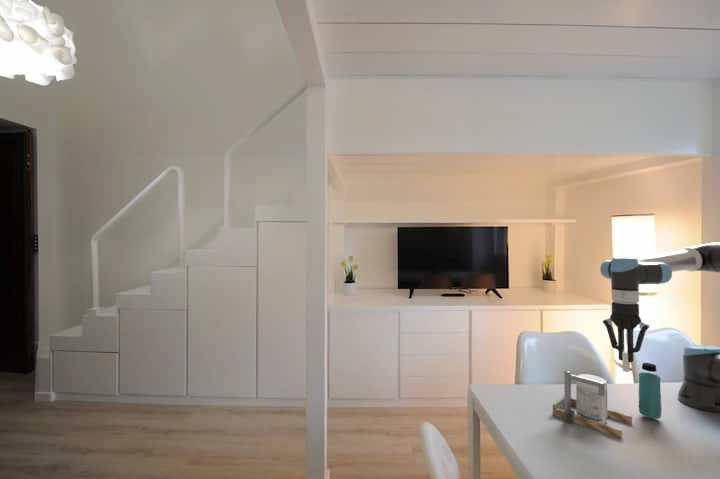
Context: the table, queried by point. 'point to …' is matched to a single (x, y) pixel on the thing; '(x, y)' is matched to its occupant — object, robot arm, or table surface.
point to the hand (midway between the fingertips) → (626, 370)
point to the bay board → (607, 429)
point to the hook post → (567, 391)
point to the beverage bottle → (649, 392)
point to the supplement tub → (591, 400)
